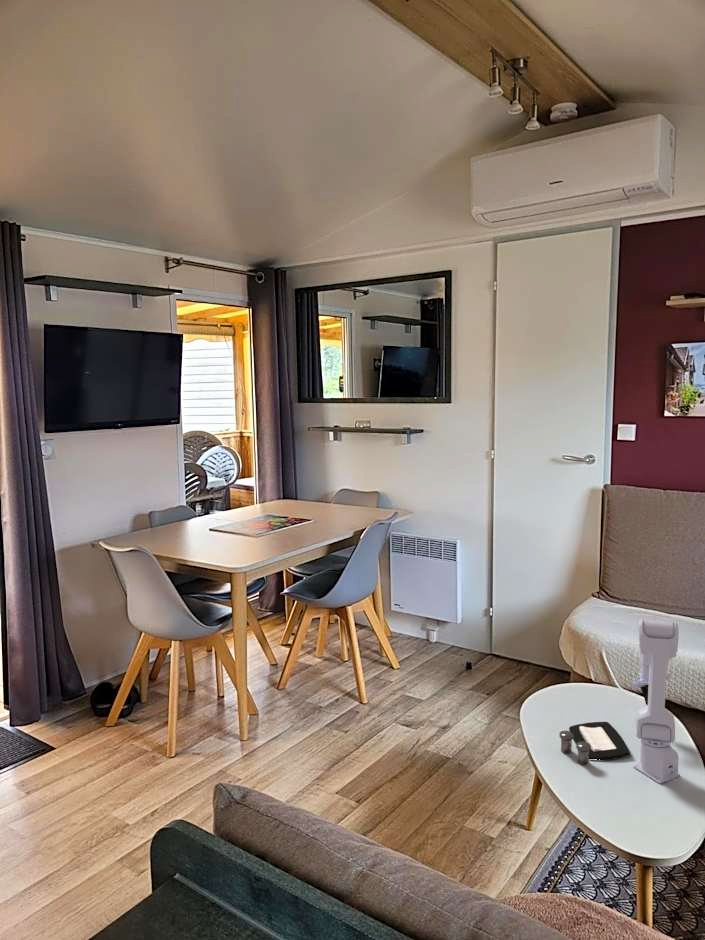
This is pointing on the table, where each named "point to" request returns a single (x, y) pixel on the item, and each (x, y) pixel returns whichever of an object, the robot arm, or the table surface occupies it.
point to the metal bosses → (581, 746)
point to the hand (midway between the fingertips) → (649, 705)
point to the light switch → (600, 740)
